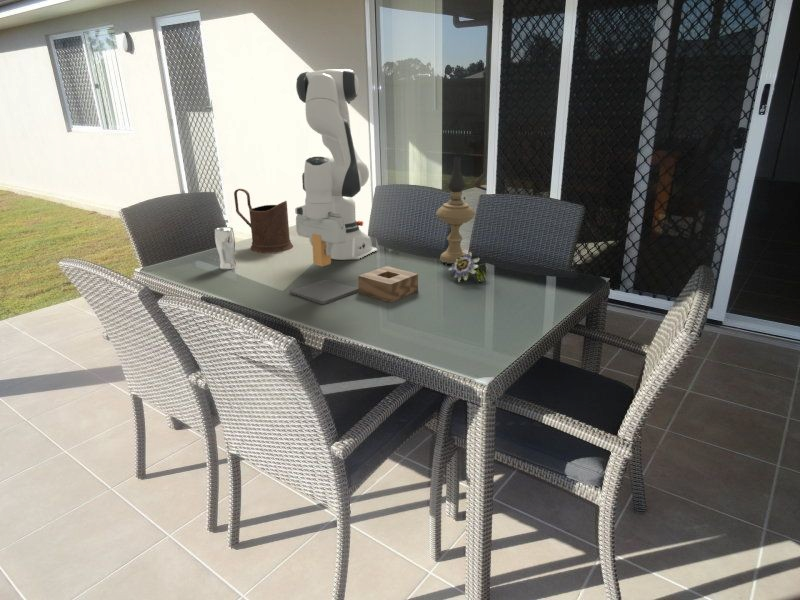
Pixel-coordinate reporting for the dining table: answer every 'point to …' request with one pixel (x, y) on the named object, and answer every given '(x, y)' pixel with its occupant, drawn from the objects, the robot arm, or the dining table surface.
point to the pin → (319, 251)
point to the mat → (324, 291)
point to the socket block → (388, 283)
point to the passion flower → (467, 267)
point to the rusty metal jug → (267, 226)
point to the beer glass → (225, 247)
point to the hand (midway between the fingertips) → (321, 253)
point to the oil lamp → (455, 214)
